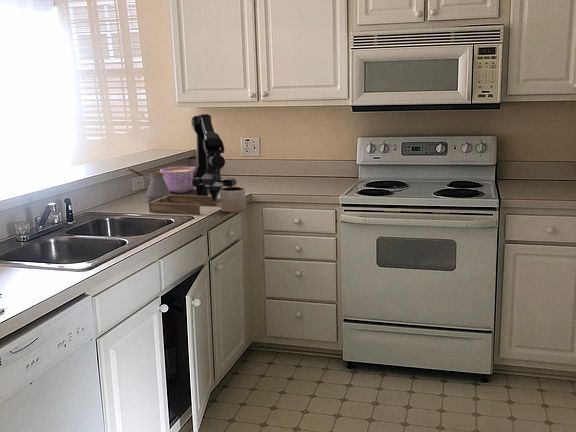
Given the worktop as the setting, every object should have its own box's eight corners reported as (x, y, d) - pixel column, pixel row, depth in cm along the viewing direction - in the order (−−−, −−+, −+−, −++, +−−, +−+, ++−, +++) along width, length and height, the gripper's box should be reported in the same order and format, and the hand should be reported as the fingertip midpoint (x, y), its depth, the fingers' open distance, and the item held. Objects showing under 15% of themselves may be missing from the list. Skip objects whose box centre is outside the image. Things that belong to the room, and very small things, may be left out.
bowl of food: (203, 193, 318) (202, 170, 316) (163, 196, 313) (162, 172, 310) (197, 187, 337) (196, 165, 335) (159, 189, 331) (157, 167, 329)
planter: (233, 206, 282) (232, 185, 280) (251, 209, 276) (250, 188, 274) (215, 210, 274) (214, 189, 272) (233, 214, 267) (233, 191, 265)
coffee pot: (175, 198, 306) (173, 167, 303) (164, 202, 295) (162, 170, 292) (135, 196, 312) (133, 166, 309) (123, 201, 301) (121, 169, 298)
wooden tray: (170, 203, 294) (169, 194, 293) (217, 205, 288) (216, 196, 287) (149, 211, 275) (148, 202, 275) (199, 214, 269) (198, 204, 268)
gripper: (185, 167, 268) (187, 204, 272) (226, 169, 263) (227, 206, 266) (196, 164, 279) (198, 199, 282) (236, 165, 273) (237, 201, 277)
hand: (214, 201), depth 277 cm, fingers closed
